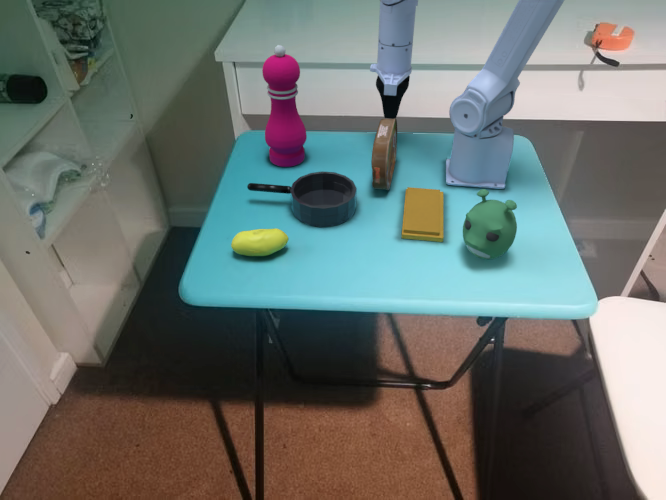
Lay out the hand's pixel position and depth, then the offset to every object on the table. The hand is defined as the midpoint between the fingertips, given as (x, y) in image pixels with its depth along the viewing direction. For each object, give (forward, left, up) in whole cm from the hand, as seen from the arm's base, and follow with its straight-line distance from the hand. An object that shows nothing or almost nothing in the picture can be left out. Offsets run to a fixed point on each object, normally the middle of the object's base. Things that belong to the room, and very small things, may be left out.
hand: (390, 116), depth 97 cm
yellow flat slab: (-7, +23, -5) cm, 24 cm away
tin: (0, +12, -5) cm, 13 cm away
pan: (+8, +23, -5) cm, 25 cm away
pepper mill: (+17, +9, -5) cm, 20 cm away
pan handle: (+17, +23, -3) cm, 29 cm away
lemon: (+15, +35, -5) cm, 38 cm away
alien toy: (-16, +31, -5) cm, 35 cm away
